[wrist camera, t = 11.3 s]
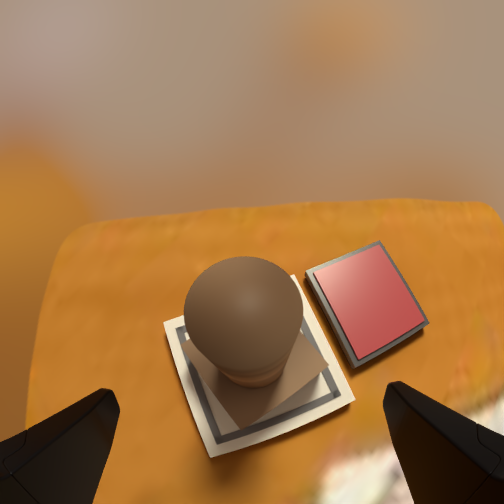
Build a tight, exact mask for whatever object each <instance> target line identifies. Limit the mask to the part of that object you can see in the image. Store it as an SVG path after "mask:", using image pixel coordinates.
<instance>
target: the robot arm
mask: <svg viewBox="0 0 504 504" xmlns="http://www.w3.org/2000/svg"><path fill="white" fill-rule="evenodd" d="M383 409H384V412H385V416H386V420H387V424H388V428H389V432H390V436H391V440H392V443H393V446H394V449H395V452H396V454H397V457H398V459H399V462H400V465H401V467H402V470H403V473H404V476H405V478H406V481H407V484H408V487H409V490H410V493H411V495H412V498H413V501H414V504H504V436H503V435H501V434H499V433H496V432H494V431H492V430H490V429H488V428H486V427H484V426H482V425H480V424H476V422H474V421H472V420H470V419H468V418H467V417H465V416H463V415H461V414H459V413H457V412H455V411H454V410H452V409H450V408H448V407H446V406H444V405H442V404H441V403H439V402H437V401H435V400H433V399H432V398H430V397H428V396H426V395H424V394H423V393H421V392H419V391H417V390H415V389H414V388H412V387H410V386H408V385H407V384H405V383H403V382H401V381H396V382H391V383H389V384H388V385H387V388H386V392H385V396H384V399H383ZM119 414H120V407H119V404H118V402H117V399H116V397H115V394H114V392H113V391H112V390H111V389H105V388H100V389H99V390H97V391H95V392H93V393H92V394H90V395H88V396H86V397H85V398H83V399H81V400H79V401H78V402H76V403H74V404H72V405H71V406H69V407H67V408H65V409H63V410H62V411H60V412H58V413H56V414H54V415H53V416H51V417H49V418H47V419H45V420H43V421H42V422H40V423H38V424H36V425H34V426H32V427H30V428H29V429H28V430H25V431H23V432H21V433H19V434H17V435H15V436H13V437H11V438H9V439H6V440H4V441H2V442H0V504H92V503H93V500H94V497H95V494H96V491H97V488H98V485H99V482H100V479H101V476H102V473H103V470H104V467H105V464H106V461H107V459H108V456H109V453H110V450H111V447H112V443H113V439H114V435H115V430H116V426H117V422H118V418H119Z"/></svg>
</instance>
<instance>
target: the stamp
mask: <svg viewBox="0 0 504 504" xmlns="http://www.w3.org/2000/svg"><path fill="white" fill-rule="evenodd" d="M302 321H303V301H302V298H301V294H300V292H299V289H298V287H297V285H296V284H295V282H294V281H293V279H292V278H291V277H290V276H289V275H288V274H287V273H286V272H285V271H284V270H283V269H281V268H280V267H279V266H277V265H275V264H274V263H272V262H269V261H267V260H264V259H260V258H255V257H234V258H229V259H226V260H223V261H220V262H218V263H216V264H214V265H212V266H211V267H209V268H208V269H206V270H205V271H204V272H203V273H202V274H201V275H200V276H199V277H198V278H197V279H196V280H195V281H194V283H193V285H192V286H191V288H190V290H189V292H188V294H187V297H186V300H185V305H184V323H185V327H186V330H187V333H188V335H189V338H190V339H188V340H187V341H185V342H184V343H182V344H181V347H182V348H183V350H184V352H185V353H186V355H187V356H188V358H189V359H190V361H191V362H192V364H193V365H194V367H195V368H196V370H197V371H198V373H199V374H200V375H201V377H202V378H203V380H204V381H205V383H206V384H207V386H208V387H209V388H210V390H211V391H212V393H213V394H214V395H215V397H216V398H217V399H218V401H219V402H220V404H221V405H222V406H223V408H224V409H225V410H226V412H227V413H228V414H229V416H230V417H231V418H232V419H233V421H234V422H235V423H236V425H237V426H238V427H239V428H240V430H241V431H242V430H243V429H245V428H246V427H248V426H249V425H251V424H252V423H254V422H255V421H257V420H258V419H260V418H261V417H262V416H264V415H265V414H267V413H268V412H270V411H271V410H272V409H274V408H275V407H277V406H278V405H279V404H281V403H282V402H283V401H285V400H286V399H287V398H289V397H290V396H291V395H293V394H294V393H295V392H297V391H298V390H299V389H301V388H302V387H303V386H304V385H306V384H307V383H308V382H309V381H311V380H312V379H313V378H314V377H316V376H317V375H318V374H319V373H320V372H322V371H323V370H324V369H325V368H326V367H328V366H329V364H328V363H327V362H326V361H325V359H324V358H323V357H322V356H321V355H320V354H319V352H318V351H317V350H316V349H315V348H314V347H313V345H312V344H311V343H310V342H309V341H308V340H307V338H306V337H305V336H304V335H303V334H302V332H301V331H300V328H301V325H302Z"/></svg>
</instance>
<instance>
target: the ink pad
mask: <svg viewBox="0 0 504 504" xmlns="http://www.w3.org/2000/svg"><path fill="white" fill-rule="evenodd" d="M305 277H306V279H307V281H308V283H309V285H310V287H311V289H312V291H313V293H314V294H315V296H316V298H317V300H318V302H319V304H320V306H321V308H322V310H323V312H324V314H325V316H326V318H327V320H328V322H329V324H330V326H331V328H332V330H333V332H334V334H335V336H336V338H337V340H338V342H339V344H340V346H341V348H342V350H343V352H344V354H345V356H346V358H347V360H348V362H349V364H350V366H351V368H352V369H354V368H356V367H358V366H360V365H362V364H363V363H365V362H367V361H369V360H371V359H372V358H374V357H376V356H378V355H379V354H381V353H383V352H385V351H386V350H388V349H390V348H391V347H393V346H395V345H396V344H398V343H400V342H401V341H403V340H405V339H406V338H408V337H409V336H411V335H412V334H414V333H416V332H417V331H419V330H420V329H422V328H423V327H425V326H426V325H428V324H429V321H428V319H427V318H426V316H425V314H424V312H423V310H422V309H421V307H420V305H419V303H418V302H417V300H416V298H415V296H414V295H413V293H412V291H411V290H410V288H409V286H408V284H407V283H406V281H405V280H404V278H403V276H402V275H401V273H400V271H399V270H398V268H397V267H396V265H395V263H394V262H393V260H392V259H391V257H390V256H389V254H388V252H387V251H386V249H385V248H384V246H383V245H382V243H381V242H380V240H379V241H377V242H374V243H372V244H370V245H367V246H365V247H363V248H360V249H358V250H356V251H353V252H351V253H348V254H346V255H343V256H341V257H339V258H336V259H334V260H331V261H329V262H326V263H324V264H321V265H319V266H316V267H314V268H311V269H309V270H306V272H305Z"/></svg>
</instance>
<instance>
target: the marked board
mask: <svg viewBox="0 0 504 504" xmlns="http://www.w3.org/2000/svg"><path fill="white" fill-rule="evenodd" d="M290 277H291V278H292V279H293V281H294V282H295V284H296V285H297V287H298V289H299V292H300V294H301V298H302V301H303V321H302V325H301V328H300V331H301V332H302V334H303V335H304V336H305V337H306V338H307V340H308V341H309V342H310V343H311V344H312V345H313V347H314V348H315V349H316V350H317V351H318V352H319V354H320V355H321V356H322V357H323V358H324V359H325V361H326V362H327V363H328V364H329V366H328V367H326V368H325V369H324V370H323V371H322V372H320V373H319V374H318V375H317V376H316V377H314V378H313V379H312V380H311V381H309V382H308V383H307V384H306V385H304V386H303V387H302V388H301V389H299V390H298V391H297V392H295V393H294V394H293V395H291V396H290V397H289V398H287V399H286V400H285V401H283V402H282V403H281V404H279V405H278V406H277V407H275V408H274V409H272V410H271V411H270V412H268V413H267V414H265V415H264V416H262V417H261V418H260V419H258V420H257V421H255V422H254V423H252V424H251V425H249V426H248V427H246V428H245V429H243V430H242V431H241V430H240V428H239V427H238V426H237V425H236V423H235V422H234V421H233V419H232V418H231V417H230V416H229V414H228V413H227V412H226V410H225V409H224V408H223V406H222V405H221V404H220V402H219V401H218V399H217V398H216V397H215V395H214V394H213V393H212V391H211V390H210V388H209V387H208V386H207V384H206V383H205V381H204V380H203V378H202V377H201V375H200V374H199V373H198V371H197V370H196V368H195V367H194V365H193V364H192V362H191V361H190V359H189V358H188V356H187V355H186V353H185V352H184V350H183V348H182V347H181V344H182V343H184V342H185V341H187V340H188V339H190V338H189V335H188V333H187V330H186V327H185V323H184V315H183V316H180V317H177V318H174V319H172V320H169V321H166V322H163V323H164V327H165V330H166V334H167V337H168V341H169V344H170V348H171V351H172V354H173V357H174V361H175V364H176V367H177V370H178V373H179V376H180V379H181V382H182V385H183V388H184V391H185V394H186V397H187V400H188V402H189V405H190V408H191V411H192V413H193V416H194V419H195V421H196V424H197V427H198V429H199V432H200V434H201V437H202V439H203V442H204V444H205V447H206V449H207V451H208V454H209V456H210V458H212V457H215V456H219V455H222V454H226V453H229V452H232V451H235V450H238V449H242V448H245V447H248V446H251V445H253V444H256V443H259V442H262V441H265V440H267V439H270V438H273V437H275V436H278V435H280V434H283V433H285V432H288V431H290V430H293V429H295V428H298V427H300V426H302V425H304V424H307V423H309V422H311V421H313V420H316V419H318V418H320V417H322V416H324V415H326V414H328V413H330V412H333V411H335V410H337V409H339V408H341V407H342V406H344V405H346V404H348V403H350V402H352V401H354V400H355V398H354V395H353V393H352V391H351V389H350V387H349V385H348V383H347V381H346V379H345V376H344V374H343V372H342V370H341V368H340V366H339V364H338V362H337V360H336V358H335V356H334V354H333V352H332V349H331V347H330V345H329V343H328V341H327V339H326V337H325V335H324V333H323V331H322V329H321V327H320V325H319V323H318V321H317V319H316V317H315V315H314V313H313V311H312V309H311V307H310V305H309V303H308V301H307V299H306V297H305V295H304V293H303V291H302V289H301V287H300V285H299V283H298V281H297V279H296V277H295V275H294V274H293V275H291V276H290Z"/></svg>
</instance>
